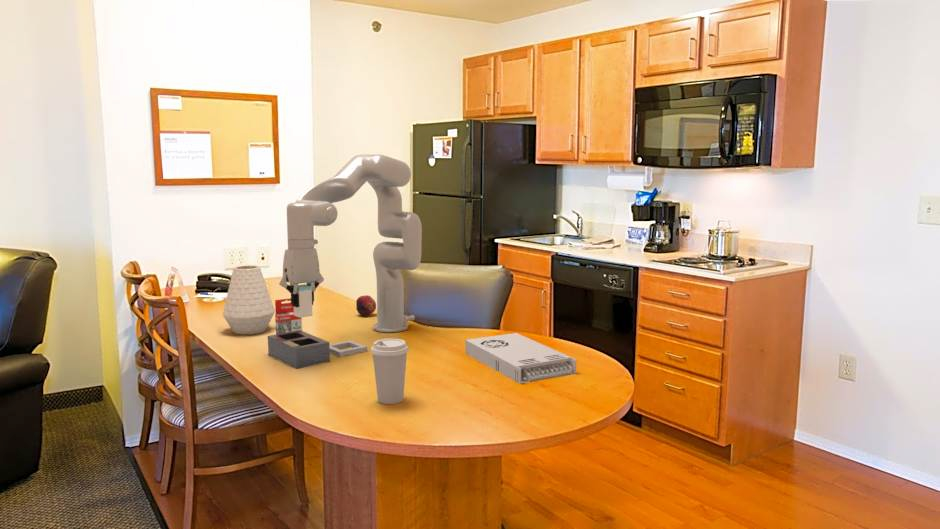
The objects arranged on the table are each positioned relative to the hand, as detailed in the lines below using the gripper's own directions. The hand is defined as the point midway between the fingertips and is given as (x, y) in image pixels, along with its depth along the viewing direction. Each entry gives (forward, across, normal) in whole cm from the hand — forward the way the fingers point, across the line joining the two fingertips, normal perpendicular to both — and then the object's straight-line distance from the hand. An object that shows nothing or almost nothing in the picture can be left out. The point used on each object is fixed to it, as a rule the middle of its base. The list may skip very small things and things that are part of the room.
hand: (302, 304), depth 198 cm
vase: (+18, -2, -46) cm, 49 cm away
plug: (+3, 0, 0) cm, 3 cm away
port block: (+17, 0, -5) cm, 18 cm away
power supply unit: (+18, -48, +43) cm, 67 cm away
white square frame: (+17, -15, -2) cm, 23 cm away
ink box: (+18, -6, -23) cm, 30 cm away
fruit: (+17, -46, -39) cm, 63 cm away
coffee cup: (+18, -1, +44) cm, 47 cm away
